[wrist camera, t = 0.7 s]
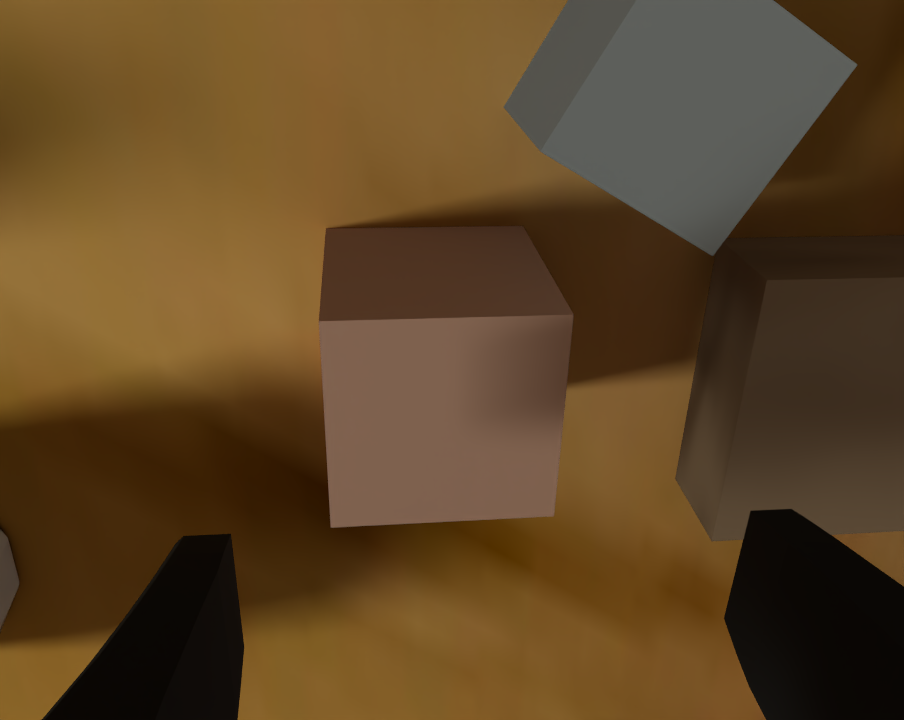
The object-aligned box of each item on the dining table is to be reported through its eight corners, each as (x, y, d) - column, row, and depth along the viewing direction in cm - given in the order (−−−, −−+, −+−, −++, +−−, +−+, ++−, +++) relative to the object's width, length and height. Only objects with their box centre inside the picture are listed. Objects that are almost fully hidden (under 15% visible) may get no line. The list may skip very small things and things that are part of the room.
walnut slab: (904, 461, 24) (972, 527, 22) (671, 471, 23) (711, 541, 21) (980, 229, 21) (1071, 274, 18) (712, 233, 20) (767, 280, 18)
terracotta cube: (511, 393, 21) (554, 516, 17) (334, 399, 21) (331, 527, 16) (522, 225, 19) (573, 314, 15) (326, 227, 19) (318, 321, 14)
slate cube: (646, 195, 19) (712, 256, 16) (503, 106, 18) (540, 151, 14) (757, 36, 18) (857, 64, 14) (610, -73, 17) (681, -71, 13)
